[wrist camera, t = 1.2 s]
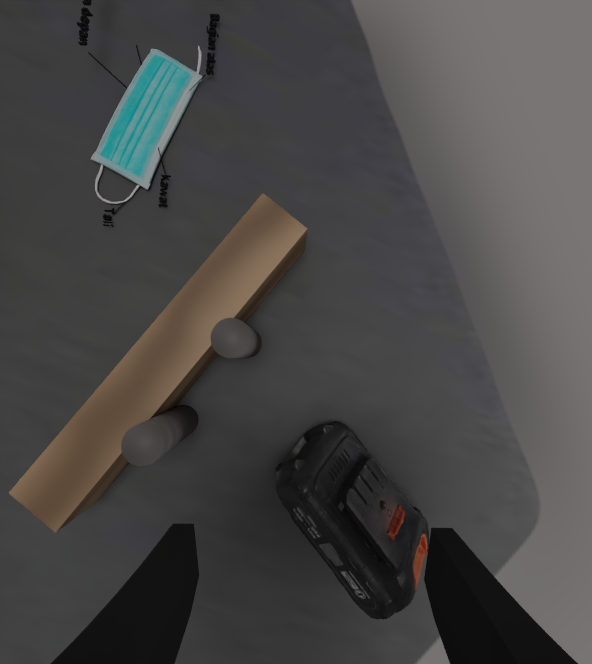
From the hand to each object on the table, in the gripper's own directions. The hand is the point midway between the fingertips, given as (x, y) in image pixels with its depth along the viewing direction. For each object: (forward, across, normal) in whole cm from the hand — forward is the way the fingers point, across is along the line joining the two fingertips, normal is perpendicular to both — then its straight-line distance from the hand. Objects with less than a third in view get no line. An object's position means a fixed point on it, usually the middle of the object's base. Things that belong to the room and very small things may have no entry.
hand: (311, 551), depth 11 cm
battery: (+15, -3, +11) cm, 19 cm away
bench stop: (+18, +9, +2) cm, 20 cm away
